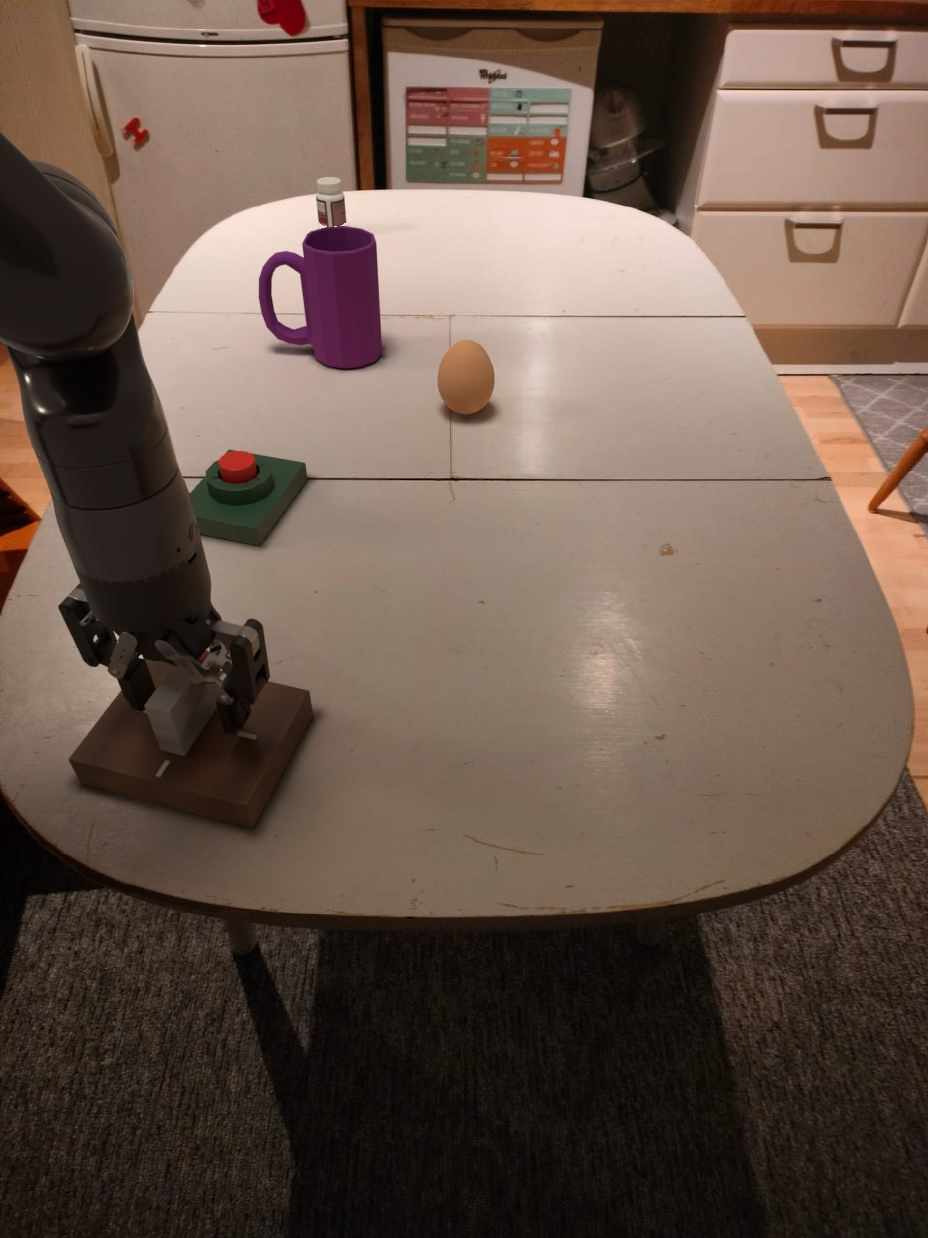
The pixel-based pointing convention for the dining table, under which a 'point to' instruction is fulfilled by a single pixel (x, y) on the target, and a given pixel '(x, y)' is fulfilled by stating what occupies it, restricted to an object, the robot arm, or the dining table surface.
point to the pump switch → (247, 500)
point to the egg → (466, 377)
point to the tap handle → (179, 710)
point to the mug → (332, 296)
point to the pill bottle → (330, 202)
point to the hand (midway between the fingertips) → (190, 713)
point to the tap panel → (197, 755)
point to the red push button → (237, 467)
